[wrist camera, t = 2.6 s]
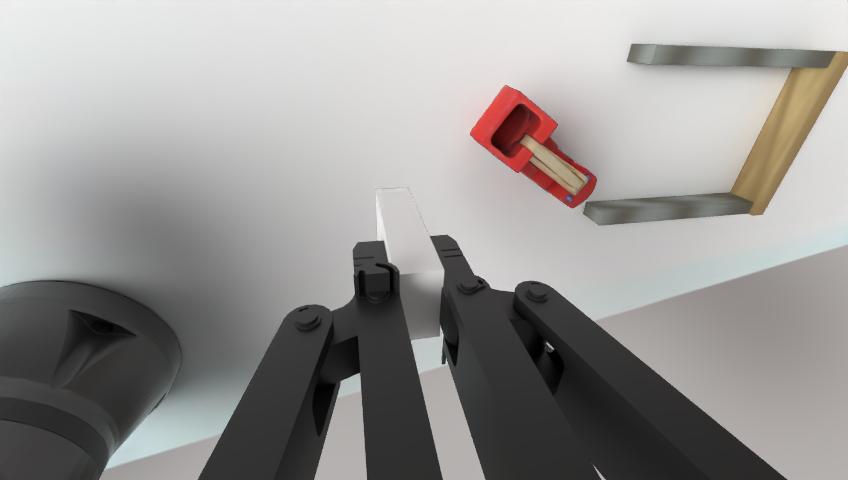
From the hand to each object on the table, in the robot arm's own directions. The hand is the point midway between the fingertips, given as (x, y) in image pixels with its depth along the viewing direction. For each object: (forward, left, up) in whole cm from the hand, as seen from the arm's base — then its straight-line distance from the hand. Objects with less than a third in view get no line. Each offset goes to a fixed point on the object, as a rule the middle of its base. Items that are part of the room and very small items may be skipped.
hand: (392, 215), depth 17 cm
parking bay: (+29, 0, -12) cm, 31 cm away
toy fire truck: (+12, 0, -12) cm, 17 cm away
